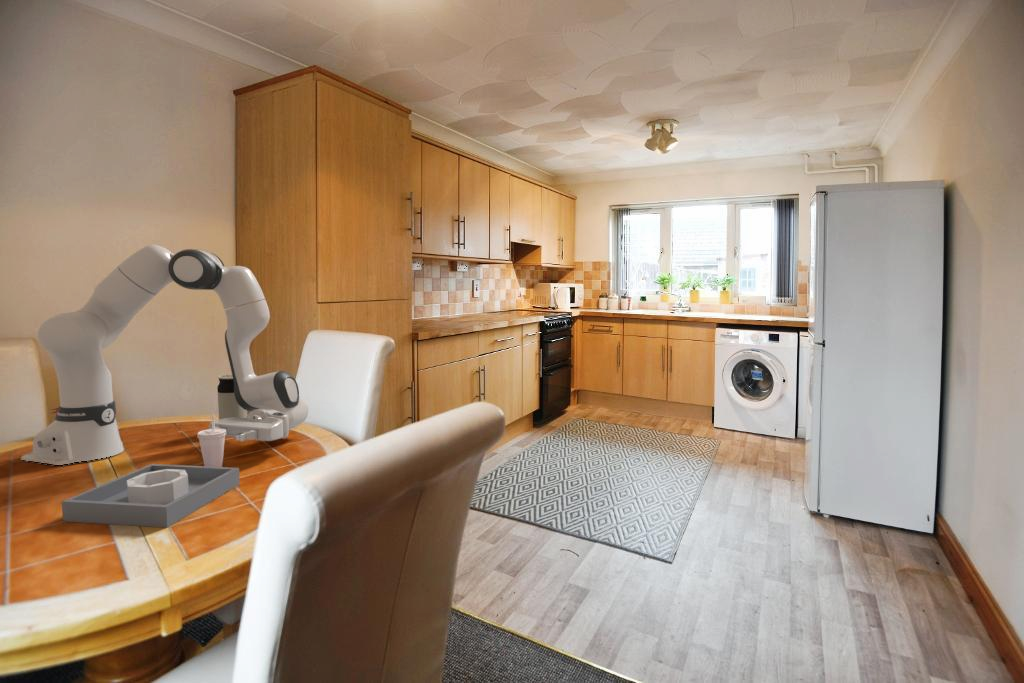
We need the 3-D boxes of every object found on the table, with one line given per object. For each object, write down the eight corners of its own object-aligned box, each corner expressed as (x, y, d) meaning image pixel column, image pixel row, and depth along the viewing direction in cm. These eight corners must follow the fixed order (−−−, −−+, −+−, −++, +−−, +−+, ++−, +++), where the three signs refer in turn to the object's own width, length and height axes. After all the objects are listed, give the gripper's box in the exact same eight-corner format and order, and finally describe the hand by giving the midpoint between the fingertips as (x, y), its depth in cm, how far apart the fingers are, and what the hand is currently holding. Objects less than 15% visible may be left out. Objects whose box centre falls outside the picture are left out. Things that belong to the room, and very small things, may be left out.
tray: (63, 521, 101) (61, 495, 100) (152, 480, 123) (151, 458, 122) (167, 527, 99) (165, 501, 98) (239, 484, 120) (238, 462, 120)
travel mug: (239, 435, 161) (237, 377, 159) (214, 434, 161) (211, 377, 159) (252, 428, 169) (250, 373, 167) (228, 427, 169) (225, 373, 167)
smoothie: (215, 474, 127) (212, 418, 125) (192, 472, 128) (189, 416, 127) (234, 465, 133) (231, 412, 132) (212, 463, 134) (209, 411, 133)
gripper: (232, 409, 149) (190, 421, 136) (292, 415, 143) (255, 427, 130) (233, 431, 150) (191, 444, 136) (293, 437, 144) (255, 452, 131)
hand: (223, 436), depth 133 cm, fingers open, 8 cm apart
